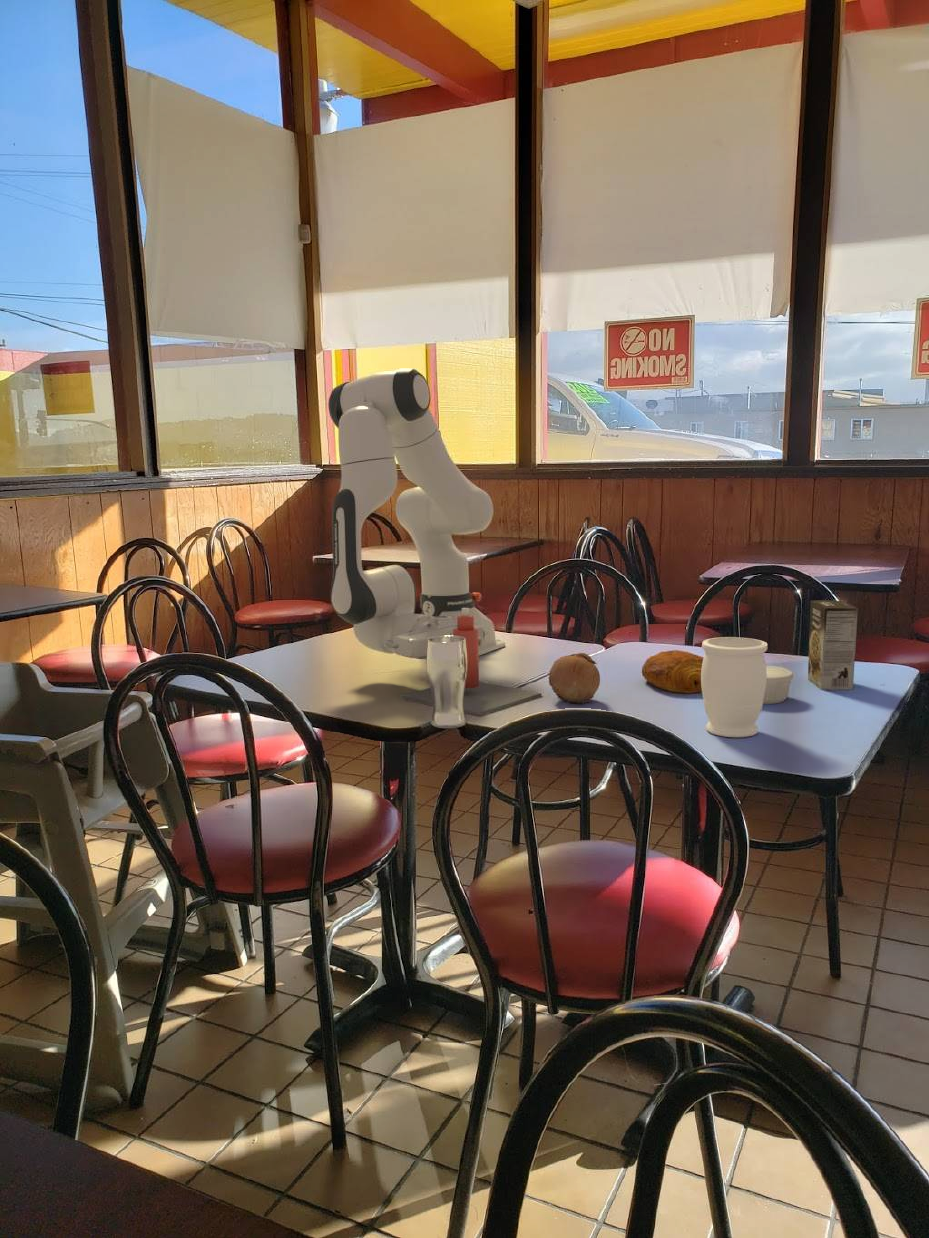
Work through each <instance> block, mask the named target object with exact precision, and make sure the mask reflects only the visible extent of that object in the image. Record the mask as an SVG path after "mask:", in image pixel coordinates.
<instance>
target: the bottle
mask: <svg viewBox="0 0 929 1238" xmlns="http://www.w3.org/2000/svg"><path fill="white" fill-rule="evenodd" d="M453 636H461V637H464V638H465V639H466V649H467V678H466V685H465V688H475V687H478V686H479V681H480V679H479V677H480V672H479V668H480V667H479V666H480V665H479V662H480V660H479V659H480V658H479V653H478V628H474V616H470V615H469V608H462V616H457V628H454V629H453Z"/></svg>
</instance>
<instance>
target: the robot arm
mask: <svg viewBox="0 0 929 1238" xmlns="http://www.w3.org/2000/svg"><path fill="white" fill-rule="evenodd" d="M430 390H431V389H430V386H429V383H428V381H427V379H426V378H425V376H424V375H423V374H422V373H420V372H419V371H418V370H417V369H415V368H408V367H407V368H398V369H397V370H387V371H380V372H376V373H372V374H370V375H367V376H363V377H360V378H357V379H355V380H352V381H345V382H343V383H340V384H338V385H336V386H335V387H334V388H332V390H331V393H330V395H329V398H328V405H327V406H328V412H329V417H330V418H331V420H332V423H333V424H334V426H336V428H337V429H338V431H337V432H338V434H337V435H338V436H337V437H338V439H337V440H338V454H339V456H338V457H339V463H340V470H341V479H340V480H341V481H340V487H339V491H338V493H337V494H336V495H335V496H334V499H333V503H332V513H331V514H332V515H331V517H332V518H331V528H332V529H331V531H332V539H331V540H332V578H331V579H332V580H331V585H330V586H331V588H330V596H329V597H330V603H331V607H332V609H333V611H334V612H335V614H337V615H338V616H339V618H340V619H342V620H343V621H345V622H347V623H349V624H350V625H353V633H354V635H355V638H356V639H357V641H358V642H360V644H361V645H363V646H364V647H365V648H368V649H369V650H372V651H373V650H374V651H376V652H381V653H384V654H389V655H392V654H395V655H398V656H402V657H406V658H409V659H416V660H425V659H427V645H428V639H429V638H431V637H436V636H453V629H454V628H457V616H462V608H469V615H470V616H474V628H478V653H479V656H482V655H484V654H487V653H490V652H493V651H495V650H498V649H500V648H503V647H506V642H505V641H504V640H501V639H497V638H496V632H495V631H496V630H495V625H494V623H493V621H492V620H491V619H490V618H488V617H487V616H486V615H484V613H482V612H481V611H480V610H479V609H477V608H476V607H475V606H476V605H475V602H474V601H476V602H480V601H481V600H482V598H483V596H482V593H481V592H476V591H475V592H474V591H473V592H472V593H471V592H470V591H469V590H470V580H469V579H470V577H469V575H470V574H469V561H468V558H467V556H466V555H465V554H464V553H463V552H462V551H460V550H459V548H457V546H456V545H455V543H454V540H453V537H452V535H464V536H465V535H471V534H476V533H480V532H483V531H485V530H486V529H487V528H488V526H489V525H490V524H491V522H492V519H493V516H494V505H493V501H492V499H491V497H490V495H489V493H488V492H486V491H485V490H484V489H482V488H480V487H478V486H477V485H475V484H474V483H473V482H472V481H470V480H469V479H468V478H467V477H466V476H465V475H464V474H463V472H462V471H461V470H460V468H458V466H457V465H456V464H455V462H454V461H453V459H452V457H451V456H450V454H449V451H448V449H447V447H446V444H445V442H444V440H443V438H442V436H441V433H440V430H439V427H438V426H437V422H436V420H435V418H434V415H433V413H432V411H431V409H430V405H431V391H430ZM396 461H397V462H396ZM397 463H398V465H399V468H400V470H401V473H402V475H403V476H404V477H405V478H406V479H407V480H408V481H409V482H411V483H413V484H414V485H416V487H411V488H408V489H405V490H404V491H402V492H401V493H400V494H399V495H398V498H397V500H396V504H395V516H396V518H397V522H398V523H399V525H401V527H403V529H405V530H406V532H407V533H408V534H409V535H410V537H411V540H412V541H413V543H414V545H415V548H416V551H417V555H418V558H419V559H418V560H419V563H420V564H419V565H420V576H421V577H420V578H421V579H420V580H421V593H420V597H419V602H420V603H419V605H420V606H419V608H420V609H421V614H418V613H415V611H416V603H417V602H416V601H417V587H416V582H415V580H414V577H413V576H412V574H411V573H410V572H409V571H408V570H407V568H405V567H403V566H402V565H399V564H392V565H386V566H381V567H376V568H373V569H371V568H370V569H368V570H367V569H366V570H363V565H362V528H363V524H364V523H365V520H367V518H368V517H369V516H370V515H371V514H372V513H373V512H374V511H376V510H377V509H378V508H380V507H382V506H383V505H385V503H387V502H388V501H389V499H391V498H392V496H393V494H394V493H395V491H396V489H397V486H398V468H397Z"/></svg>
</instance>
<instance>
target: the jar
mask: <svg viewBox="0 0 929 1238" xmlns="http://www.w3.org/2000/svg"><path fill="white" fill-rule="evenodd" d="M701 643H702V644H701V648H702V649H703V650H704V652H705V653H704V656H703V657H704V658H703V663H702V670H701V687H702V691H701V694H702V700H703V707H704V710H705V714H706V716H707V718H708V719H709V720H708V723H706V727H705V728H706V731H707V732H709V733H711V734H713V735H716V736H720V737H724V738H725V737H726V738H749V737H752V736H755V735H756V734H757V733H758V732H759V728H758V726H757V723H756V722H757V721H758V719H759V717H760V715H761V712H762V708H763V705H764V704H763V698H764V694H765V690H766V681H767V672H766V665H767V663H766V659H765V655H764V653H765V652H767V651H768V643H767V642H766V641H764V640H760V639H755V638H751V637H750V638H749V637H740V636H739V637H738V636H737V637H736V636H725V637H724V636H721V637H720V636H719V637H713V638H711V637H710V638H707V639H704V640H702V642H701Z"/></svg>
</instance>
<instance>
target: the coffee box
mask: <svg viewBox="0 0 929 1238" xmlns="http://www.w3.org/2000/svg"><path fill="white" fill-rule="evenodd" d="M809 611H810V615H809V636H808V637H809V641H808V661H807V662H808V665H807V666H808V667H807V668H808V669H807V680H808V681H811V683H813V684H814V685H815V686H816V687H817V688H819V689H820V690H825V691H829V690H831V691H832V690H835V691H837V690H846V691H847V690H849V691H850V690H851V691H853V690H854V677H855V676H854V675H855V658H856V644H857V643H856V642H857V627H858V626H857V624H858V608H857V607H856V606H854V605H852V604H850V603H848V602H845V601H843V600H826V599H823V600H822V599H821V600H819V599H818V600H810V609H809Z"/></svg>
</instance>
